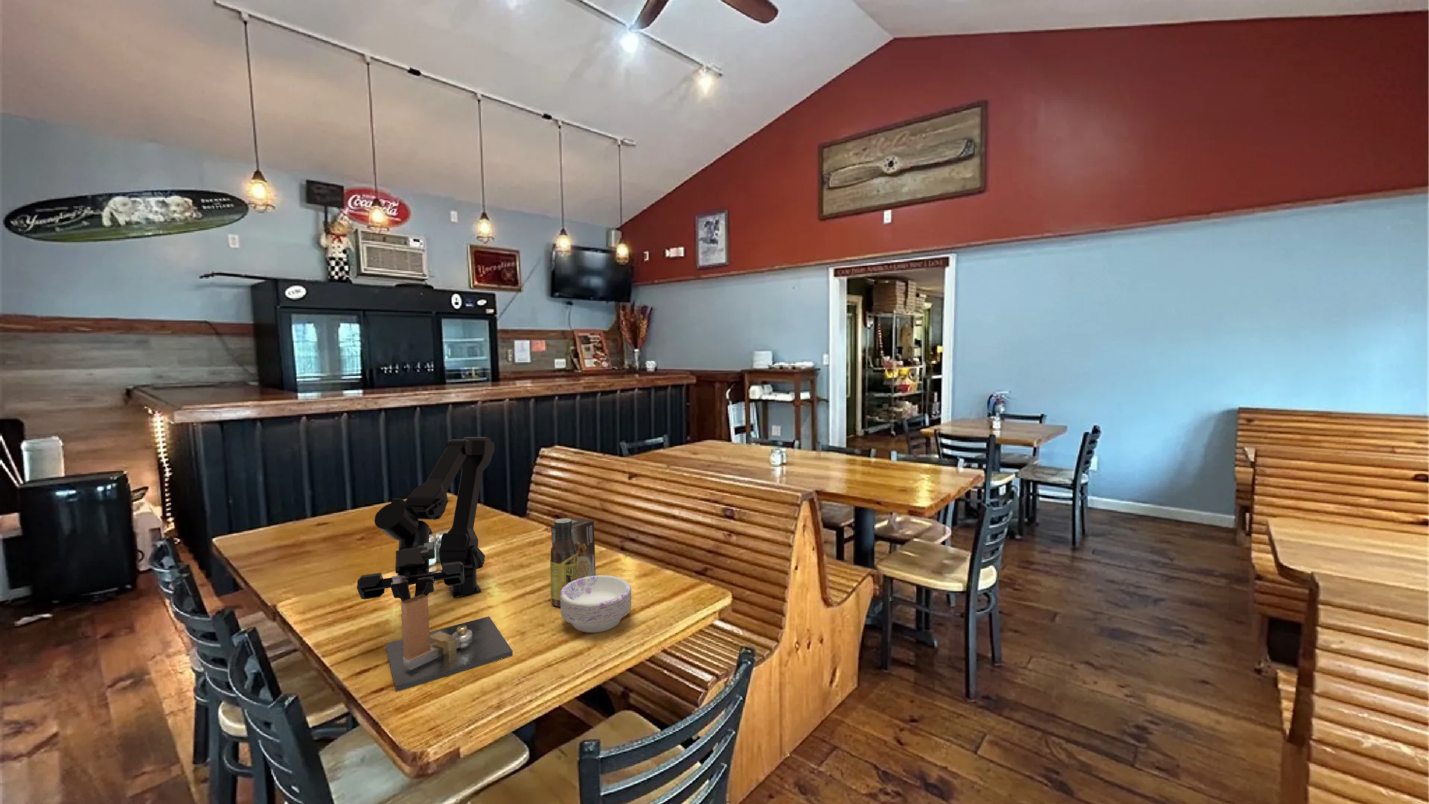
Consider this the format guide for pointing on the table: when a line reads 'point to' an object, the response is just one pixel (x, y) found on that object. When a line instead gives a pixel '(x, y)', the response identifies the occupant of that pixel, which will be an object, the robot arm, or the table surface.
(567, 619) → the paper bowls
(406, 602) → the link
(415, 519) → the robot arm
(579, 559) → the coffee box
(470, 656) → the base plate
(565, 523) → the sauce bottle
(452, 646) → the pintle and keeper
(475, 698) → the table surface
